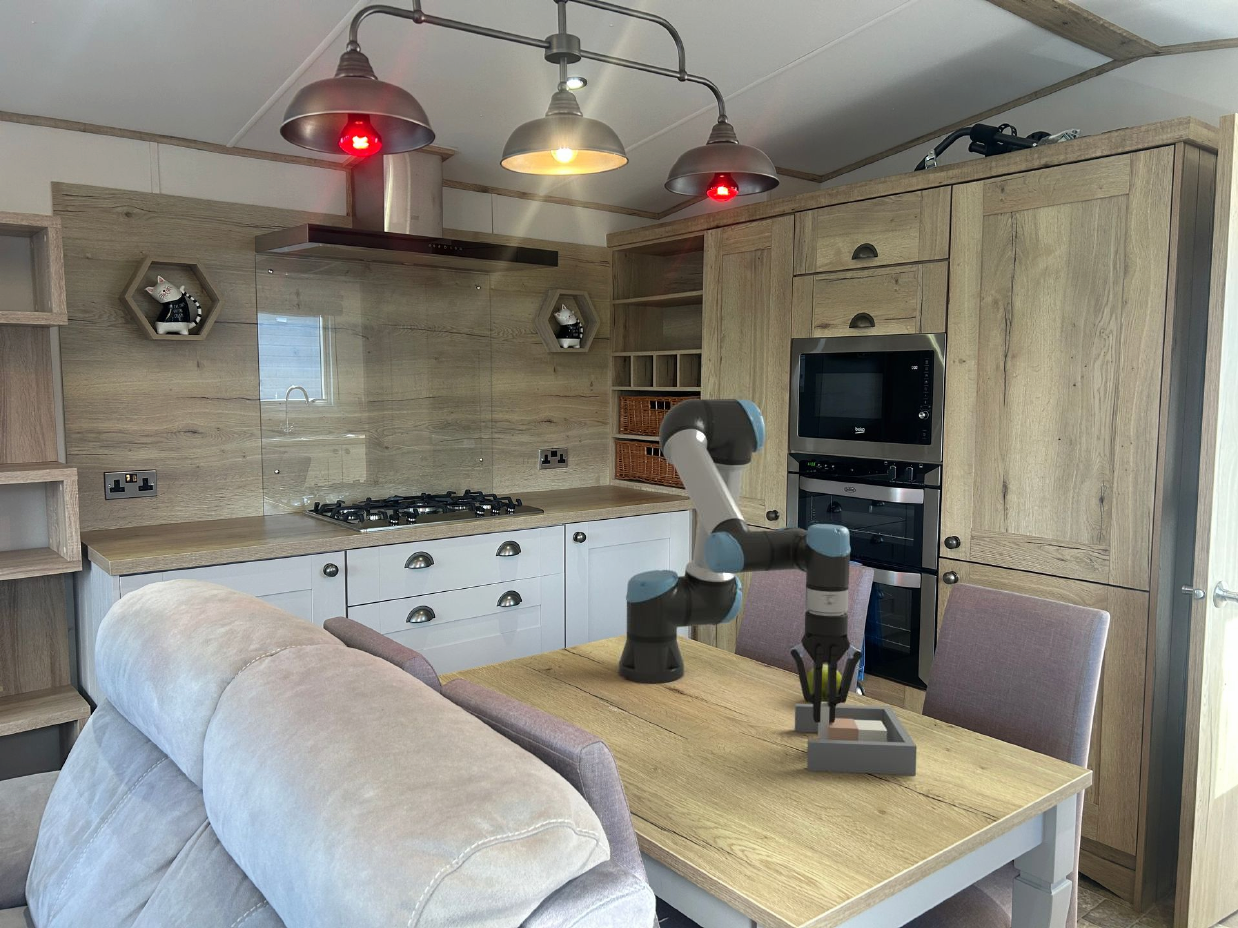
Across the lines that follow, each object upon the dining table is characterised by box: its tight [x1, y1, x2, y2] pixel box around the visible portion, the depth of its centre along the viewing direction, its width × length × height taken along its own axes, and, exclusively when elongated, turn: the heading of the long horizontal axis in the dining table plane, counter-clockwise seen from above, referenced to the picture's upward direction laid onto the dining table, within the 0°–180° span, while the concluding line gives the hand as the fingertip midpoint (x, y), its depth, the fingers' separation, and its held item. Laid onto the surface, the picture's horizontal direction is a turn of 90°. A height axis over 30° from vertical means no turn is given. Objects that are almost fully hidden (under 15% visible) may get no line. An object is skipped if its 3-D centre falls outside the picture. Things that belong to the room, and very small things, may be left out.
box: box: [794, 703, 918, 776], centre depth 164 cm, size 20×18×5 cm
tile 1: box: [829, 718, 858, 741], centre depth 165 cm, size 5×5×5 cm
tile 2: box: [854, 720, 887, 742], centre depth 164 cm, size 5×5×5 cm
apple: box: [806, 664, 843, 702], centre depth 190 cm, size 8×9×8 cm
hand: (823, 739), depth 165 cm, fingers closed
